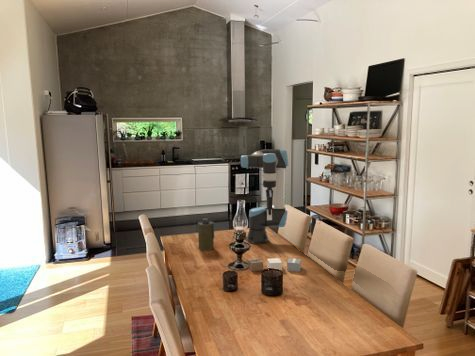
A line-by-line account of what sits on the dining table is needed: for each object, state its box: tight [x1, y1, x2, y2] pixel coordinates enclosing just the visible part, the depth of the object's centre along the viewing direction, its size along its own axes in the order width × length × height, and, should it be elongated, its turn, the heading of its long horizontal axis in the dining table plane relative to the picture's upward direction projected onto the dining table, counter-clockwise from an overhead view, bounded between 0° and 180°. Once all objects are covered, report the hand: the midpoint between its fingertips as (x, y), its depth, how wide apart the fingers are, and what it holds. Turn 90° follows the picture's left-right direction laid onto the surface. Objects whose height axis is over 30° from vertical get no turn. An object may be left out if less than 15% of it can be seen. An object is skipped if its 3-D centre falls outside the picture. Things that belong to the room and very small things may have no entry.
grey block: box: [286, 257, 302, 273], centre depth 217 cm, size 7×7×5 cm
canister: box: [197, 218, 215, 251], centre depth 255 cm, size 11×10×20 cm
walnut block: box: [247, 257, 264, 272], centre depth 219 cm, size 7×7×5 cm
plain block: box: [266, 257, 283, 272], centre depth 218 cm, size 7×7×5 cm
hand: (269, 219), depth 224 cm, fingers closed
